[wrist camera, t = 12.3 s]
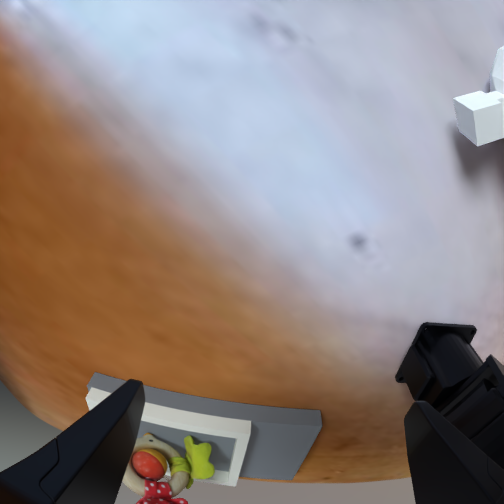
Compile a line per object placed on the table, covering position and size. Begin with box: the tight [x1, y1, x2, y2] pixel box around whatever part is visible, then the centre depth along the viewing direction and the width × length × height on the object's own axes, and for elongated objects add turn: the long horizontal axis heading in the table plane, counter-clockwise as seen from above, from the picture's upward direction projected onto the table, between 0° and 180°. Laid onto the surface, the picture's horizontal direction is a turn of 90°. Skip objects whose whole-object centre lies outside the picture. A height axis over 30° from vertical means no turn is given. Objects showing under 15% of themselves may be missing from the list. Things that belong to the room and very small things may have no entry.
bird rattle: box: [122, 433, 215, 504], centre depth 23 cm, size 6×11×9 cm
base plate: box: [86, 372, 322, 486], centre depth 28 cm, size 22×12×4 cm, turn 82°
